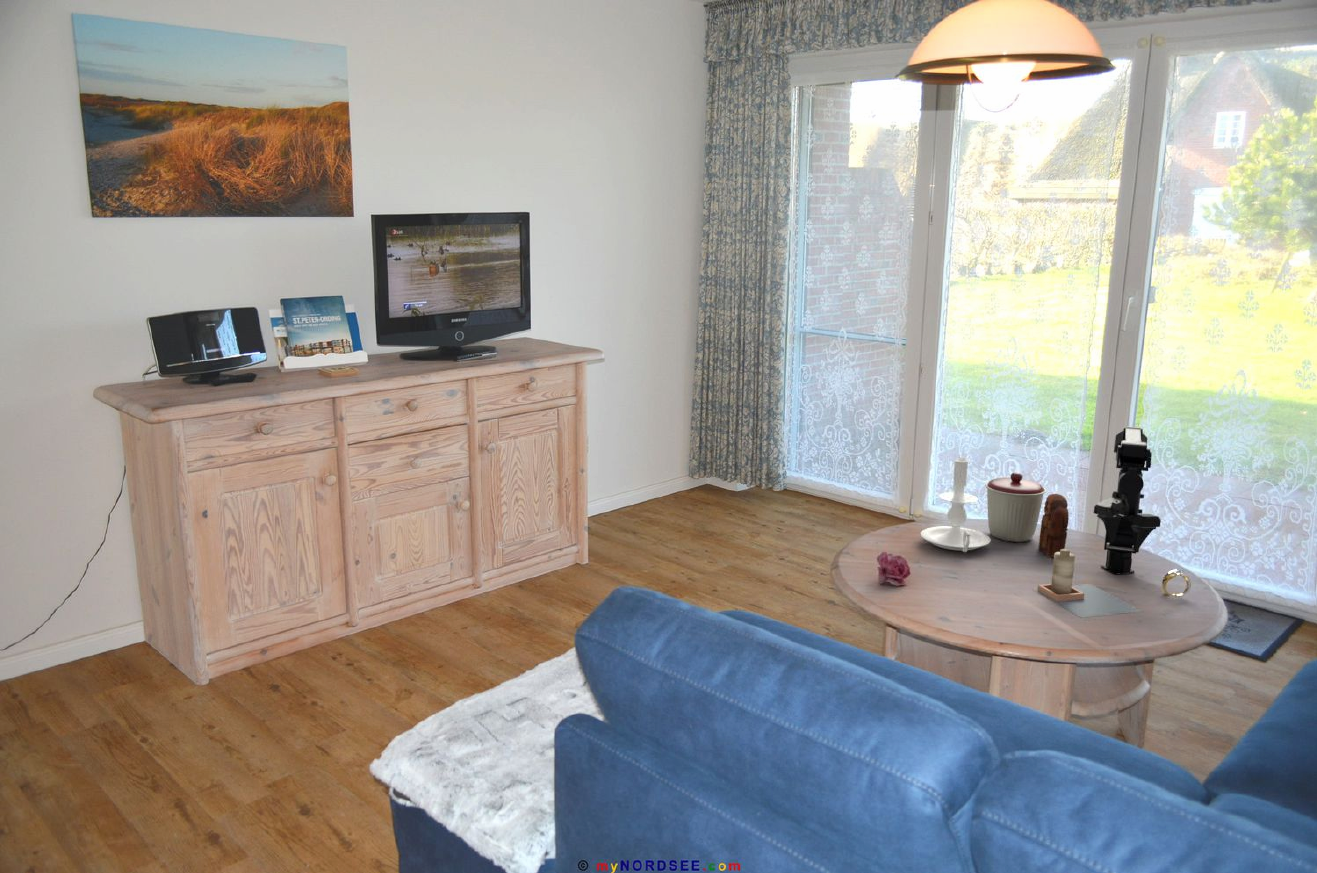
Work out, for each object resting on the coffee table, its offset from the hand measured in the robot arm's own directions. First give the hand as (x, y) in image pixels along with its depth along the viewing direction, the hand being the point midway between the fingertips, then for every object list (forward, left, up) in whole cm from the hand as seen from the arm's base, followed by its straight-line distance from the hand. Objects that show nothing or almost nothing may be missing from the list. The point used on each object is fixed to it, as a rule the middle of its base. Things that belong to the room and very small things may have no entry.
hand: (1122, 546), depth 267 cm
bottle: (+2, -19, -11) cm, 22 cm away
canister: (-47, -1, -13) cm, 49 cm away
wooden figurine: (-31, +2, -13) cm, 34 cm away
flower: (-20, -57, -13) cm, 62 cm away
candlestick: (-41, -24, -13) cm, 50 cm away
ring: (+9, +11, -13) cm, 19 cm away
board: (+7, -15, -12) cm, 21 cm away
